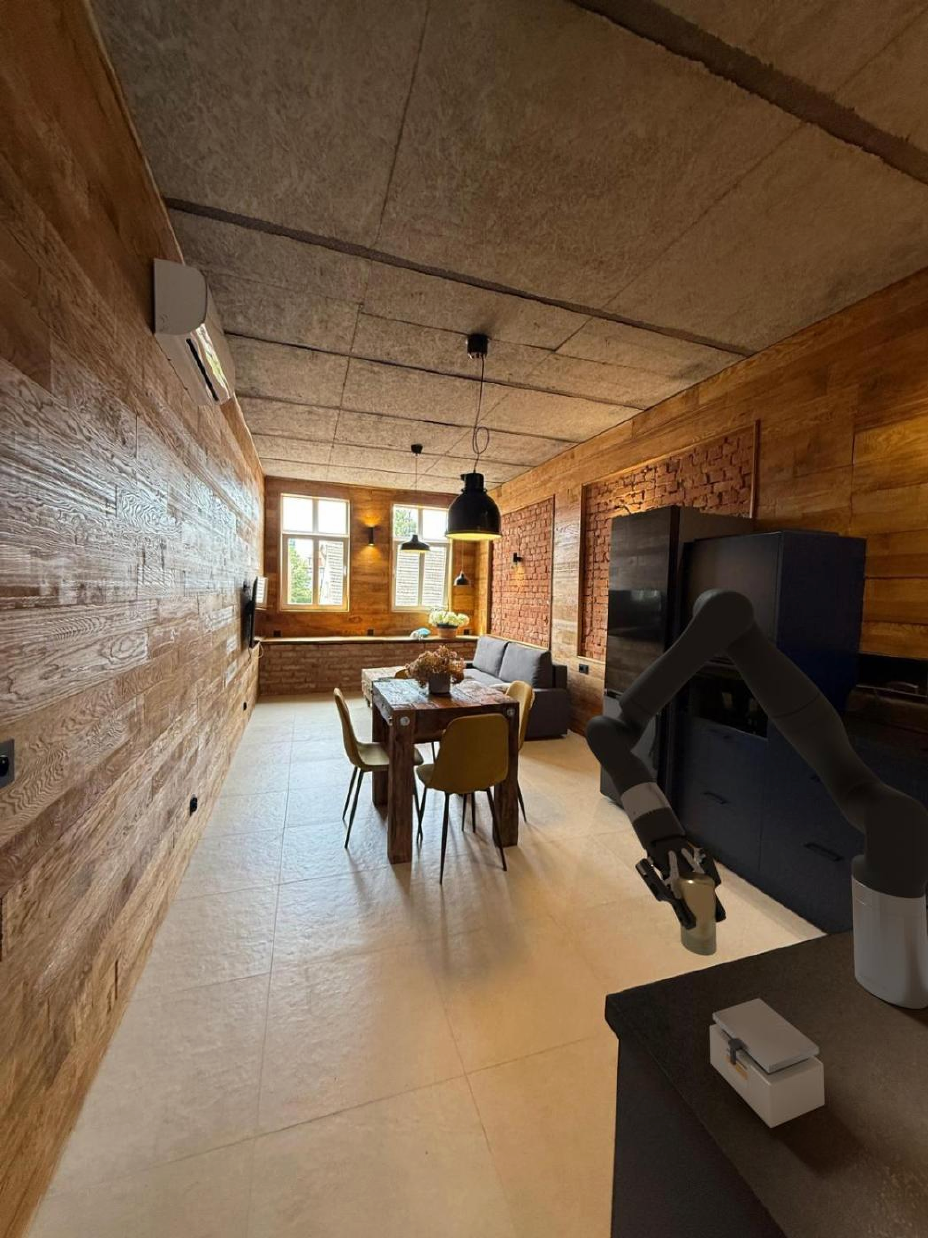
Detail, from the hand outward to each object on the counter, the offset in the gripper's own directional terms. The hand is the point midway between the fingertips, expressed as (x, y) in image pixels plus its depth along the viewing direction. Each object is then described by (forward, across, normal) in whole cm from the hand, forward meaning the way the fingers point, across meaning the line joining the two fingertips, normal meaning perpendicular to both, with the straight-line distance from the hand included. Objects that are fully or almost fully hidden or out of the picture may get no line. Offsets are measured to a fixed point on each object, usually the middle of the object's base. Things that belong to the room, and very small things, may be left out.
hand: (706, 924), depth 71 cm
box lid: (+15, -1, +2) cm, 16 cm away
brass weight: (+2, 0, +4) cm, 5 cm away
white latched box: (+17, 0, +4) cm, 18 cm away
